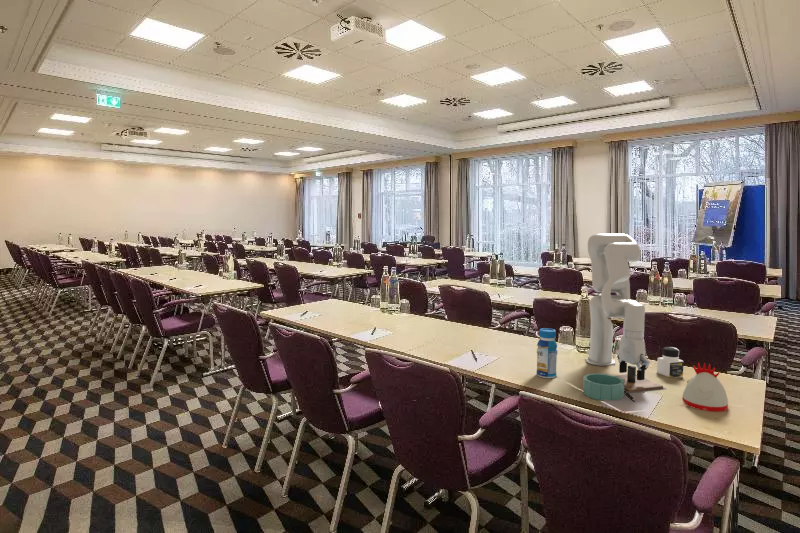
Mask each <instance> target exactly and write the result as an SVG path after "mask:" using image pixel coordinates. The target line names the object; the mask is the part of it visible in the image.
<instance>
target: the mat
mask: <svg viewBox="0 0 800 533" xmlns="http://www.w3.org/2000/svg"><path fill="white" fill-rule="evenodd" d="M664 390H667V388H666V387H663V389H654V390H645V391H637V392H627V391H626V392H627V393H626V392H625V393H626V394H636V393H637V394H638V393H646V392H647V393H648V392H654V391H664Z"/></svg>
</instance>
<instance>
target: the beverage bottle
mask: <svg viewBox="0 0 800 533" xmlns="http://www.w3.org/2000/svg"><path fill="white" fill-rule="evenodd" d="M538 332H539V333H538V336H539V340H538V341H537V344H536V347H537V348H536V375H537V376H538V377H539V378H543V379H554V378H556V377H557V359H558V358H557V357H558V349H557V348H558V342H556V340H555V339H556V337H557V331H556V329H553V328H547V327H546V328H545V327H543V328H540V329H539V331H538Z"/></svg>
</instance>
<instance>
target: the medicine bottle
mask: <svg viewBox="0 0 800 533" xmlns="http://www.w3.org/2000/svg"><path fill="white" fill-rule="evenodd" d="M679 356H680V350H679V349H678V348H677V347H673V346H665V347H663V348H662V357H657V358H656V359H657V361H656V362H657V365H656V373H657V374H660V375H662V376H665V377H667V378H673V379H674V378H675V379H677V378H683V376H684V360H682V359H680V357H679Z"/></svg>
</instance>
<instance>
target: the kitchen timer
mask: <svg viewBox="0 0 800 533" xmlns="http://www.w3.org/2000/svg"><path fill="white" fill-rule="evenodd" d="M692 366H693V367H692V368H693V370H694V372H695V373H696V374H694V375H693V376H692V377H691V378H690V379H688V380H686V385H685V388H684V390H683V392H682V401H683V402H684V403H685V405H686V406H688V407H691V408H693V409H698V410H701V411H706V412H725V411H727V410H728V408H729V401H728V396H727V393H726V390H725V387H724V385H723V383H722V382H721V381H720V379H719V378H718V376H719V375H720V371H718V372H717V373H715V370H716V367H713V368H711V364H710V363H709V364H708V366H707V367H706V363H705V362H704V363H703V366H702V368H701V365H700V362H697V367H696V366H695V365H694V364H693V365H692Z"/></svg>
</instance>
